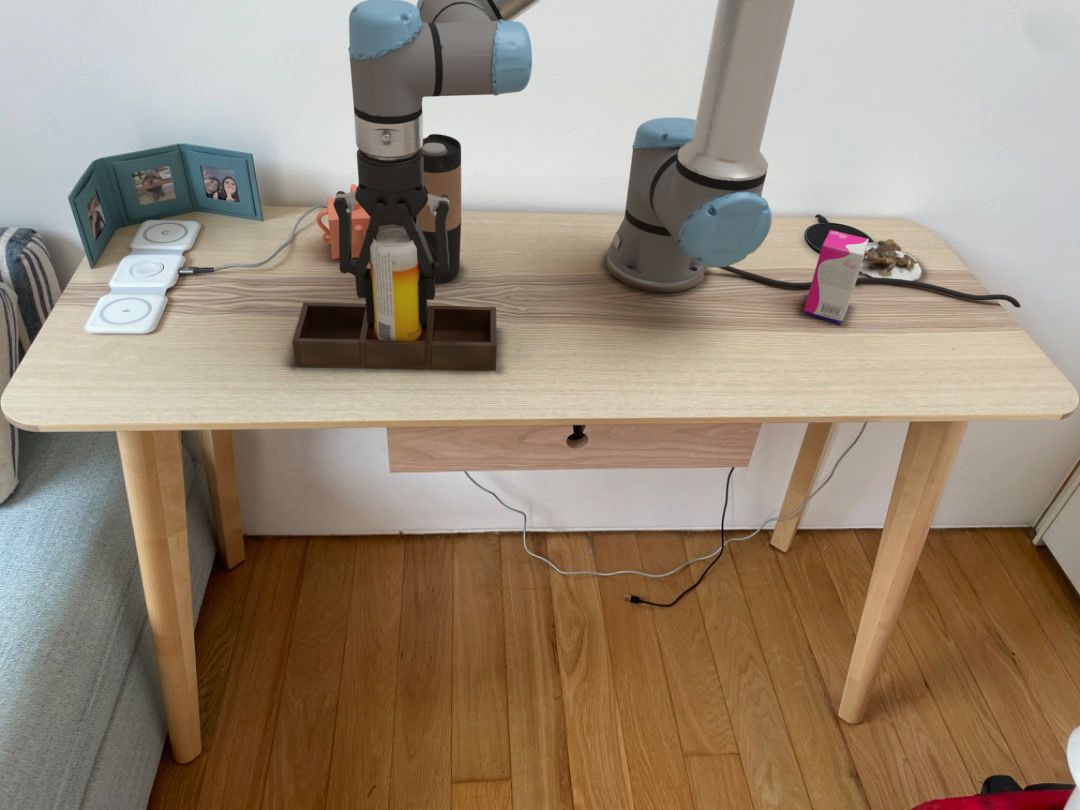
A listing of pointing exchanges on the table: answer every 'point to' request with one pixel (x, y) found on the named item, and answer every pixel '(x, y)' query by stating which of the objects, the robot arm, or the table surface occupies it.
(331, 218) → the teapot
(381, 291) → the beer can
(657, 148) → the robot arm
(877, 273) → the plate of food
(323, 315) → the rack
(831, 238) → the supplement box
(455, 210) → the travel mug
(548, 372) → the table surface
